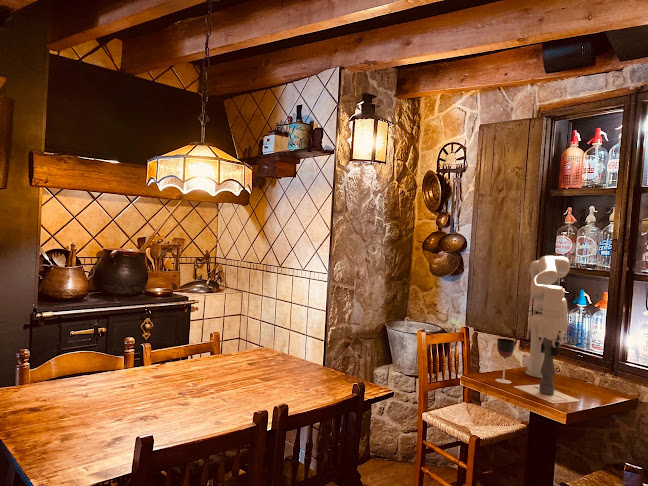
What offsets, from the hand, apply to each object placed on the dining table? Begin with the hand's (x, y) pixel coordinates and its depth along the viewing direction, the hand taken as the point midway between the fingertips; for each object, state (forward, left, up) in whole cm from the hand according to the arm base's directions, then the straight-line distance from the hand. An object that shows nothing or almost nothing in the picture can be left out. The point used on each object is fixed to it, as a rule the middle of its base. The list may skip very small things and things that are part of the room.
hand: (549, 353), depth 231 cm
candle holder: (0, 0, -18) cm, 18 cm away
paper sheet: (-1, +1, -18) cm, 18 cm away
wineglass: (-22, -5, -19) cm, 29 cm away
